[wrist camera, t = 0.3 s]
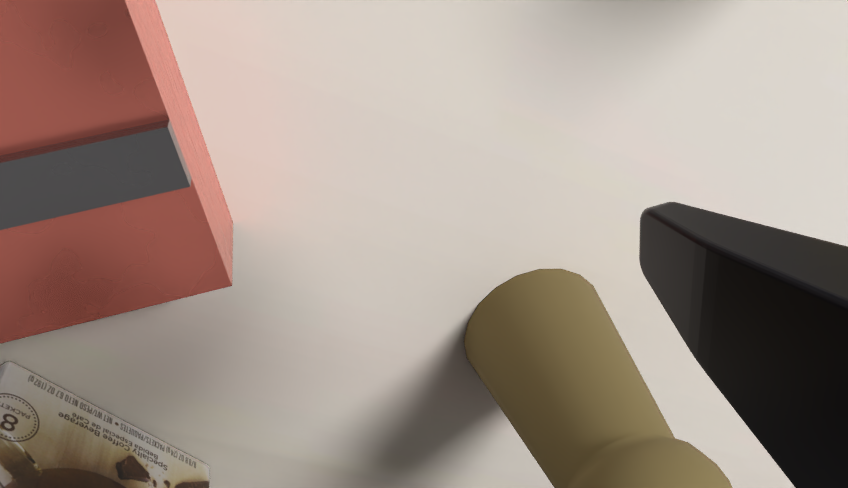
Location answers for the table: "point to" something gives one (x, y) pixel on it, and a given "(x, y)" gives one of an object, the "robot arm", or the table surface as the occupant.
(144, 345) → the table surface
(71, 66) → the block
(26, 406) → the coffee box
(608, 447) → the olive tapered upright piece
